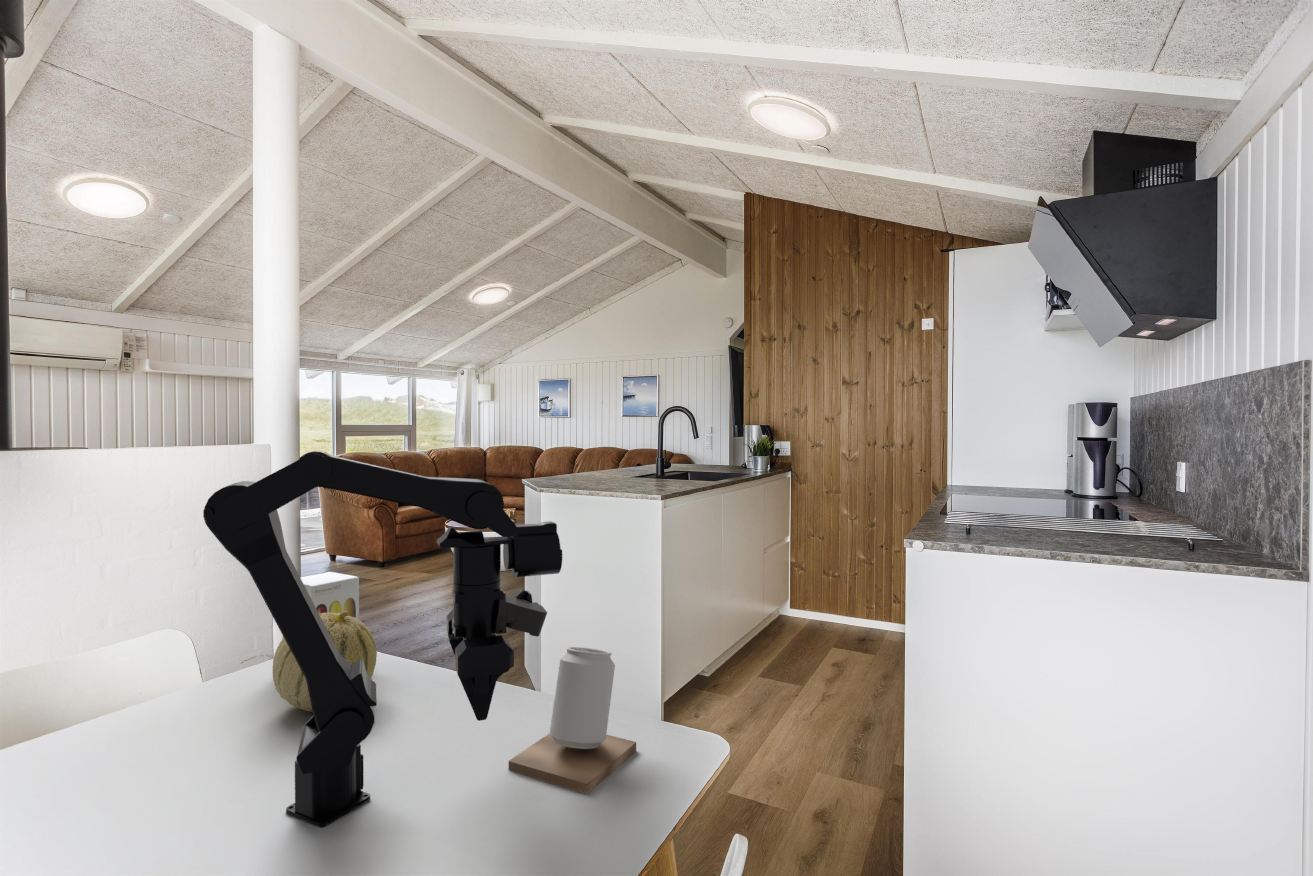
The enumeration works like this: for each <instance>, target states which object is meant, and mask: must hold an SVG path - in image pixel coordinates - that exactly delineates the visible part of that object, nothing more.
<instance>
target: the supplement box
mask: <svg viewBox="0 0 1313 876" xmlns="http://www.w3.org/2000/svg"><path fill="white" fill-rule="evenodd" d="M300 578H301V580H302V582H303V584H304V586H305V588H306V590H307V592H308V594H309V596H310V598H311V599H312V601H313V603H314V605H315V607H316V609H317V611H318V613H319V614H321V613H343V612H344V611H348V613H349V616H351V617H355V618H356V619H358V620H360V577H359V576H356V575H351V574H344V573H340V572H333V571H327V572H322V573H317V574H311V575H306V576H300Z"/></svg>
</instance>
